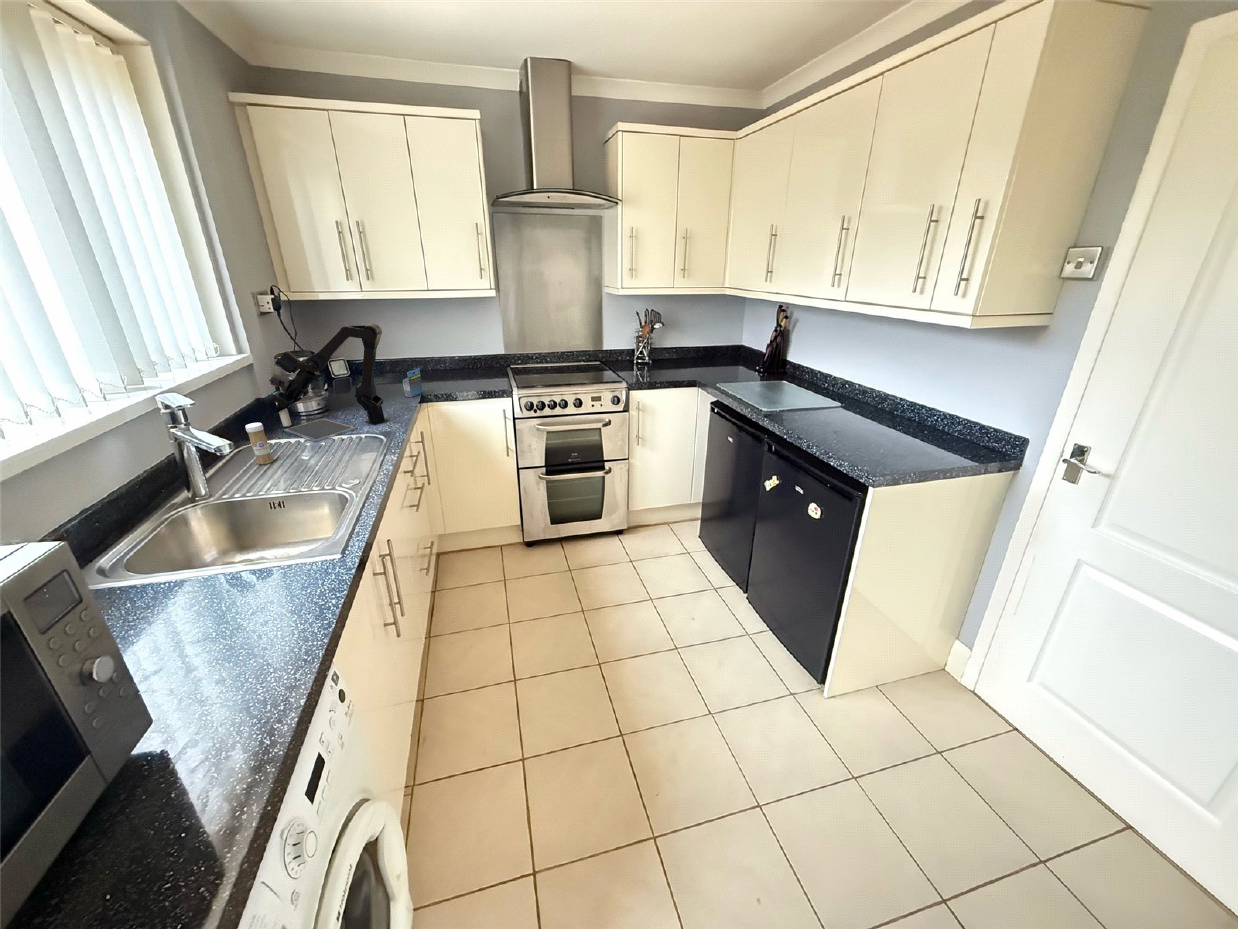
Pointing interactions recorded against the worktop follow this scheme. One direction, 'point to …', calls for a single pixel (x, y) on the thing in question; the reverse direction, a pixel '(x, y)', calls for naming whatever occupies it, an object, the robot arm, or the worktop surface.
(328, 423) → the tablet
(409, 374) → the label tape box
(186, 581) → the worktop surface
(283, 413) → the marker
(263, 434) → the sprinkles bottle
